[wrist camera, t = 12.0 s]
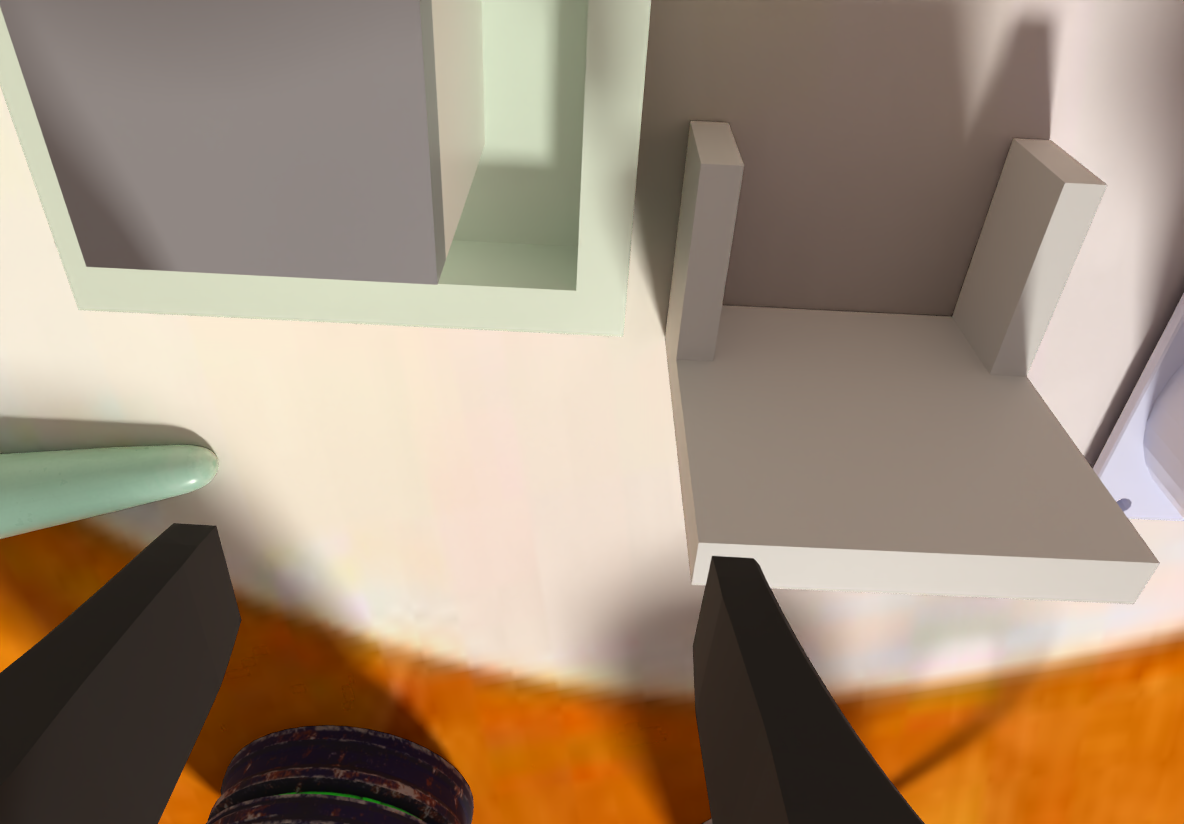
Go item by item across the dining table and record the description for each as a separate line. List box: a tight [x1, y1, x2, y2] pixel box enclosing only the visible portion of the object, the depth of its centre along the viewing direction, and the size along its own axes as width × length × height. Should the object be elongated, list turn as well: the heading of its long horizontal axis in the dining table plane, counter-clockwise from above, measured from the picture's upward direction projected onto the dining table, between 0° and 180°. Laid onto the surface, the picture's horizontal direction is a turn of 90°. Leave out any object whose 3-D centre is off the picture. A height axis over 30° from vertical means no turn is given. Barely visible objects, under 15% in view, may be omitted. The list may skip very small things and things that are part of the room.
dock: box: [665, 121, 1160, 604], centre depth 16 cm, size 8×5×8 cm
